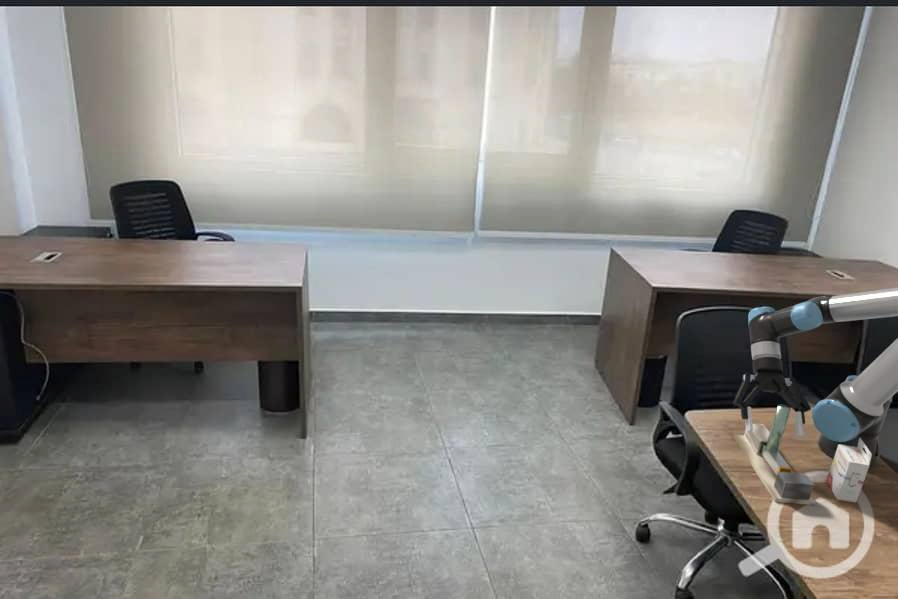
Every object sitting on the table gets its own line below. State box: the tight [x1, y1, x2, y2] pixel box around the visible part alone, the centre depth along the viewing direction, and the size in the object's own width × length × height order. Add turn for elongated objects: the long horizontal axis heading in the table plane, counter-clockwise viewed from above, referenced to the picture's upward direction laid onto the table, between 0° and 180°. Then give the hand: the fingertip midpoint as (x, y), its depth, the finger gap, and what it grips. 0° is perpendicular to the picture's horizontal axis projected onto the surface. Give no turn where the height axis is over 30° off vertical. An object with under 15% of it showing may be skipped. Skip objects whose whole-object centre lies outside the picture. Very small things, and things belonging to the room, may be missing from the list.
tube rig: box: [733, 422, 817, 506], centre depth 175 cm, size 10×30×6 cm, turn 177°
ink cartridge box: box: [826, 438, 872, 503], centre depth 166 cm, size 9×5×15 cm, turn 169°
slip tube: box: [760, 403, 792, 476], centre depth 175 cm, size 3×20×16 cm, turn 177°
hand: (774, 433), depth 174 cm, fingers open, 13 cm apart
